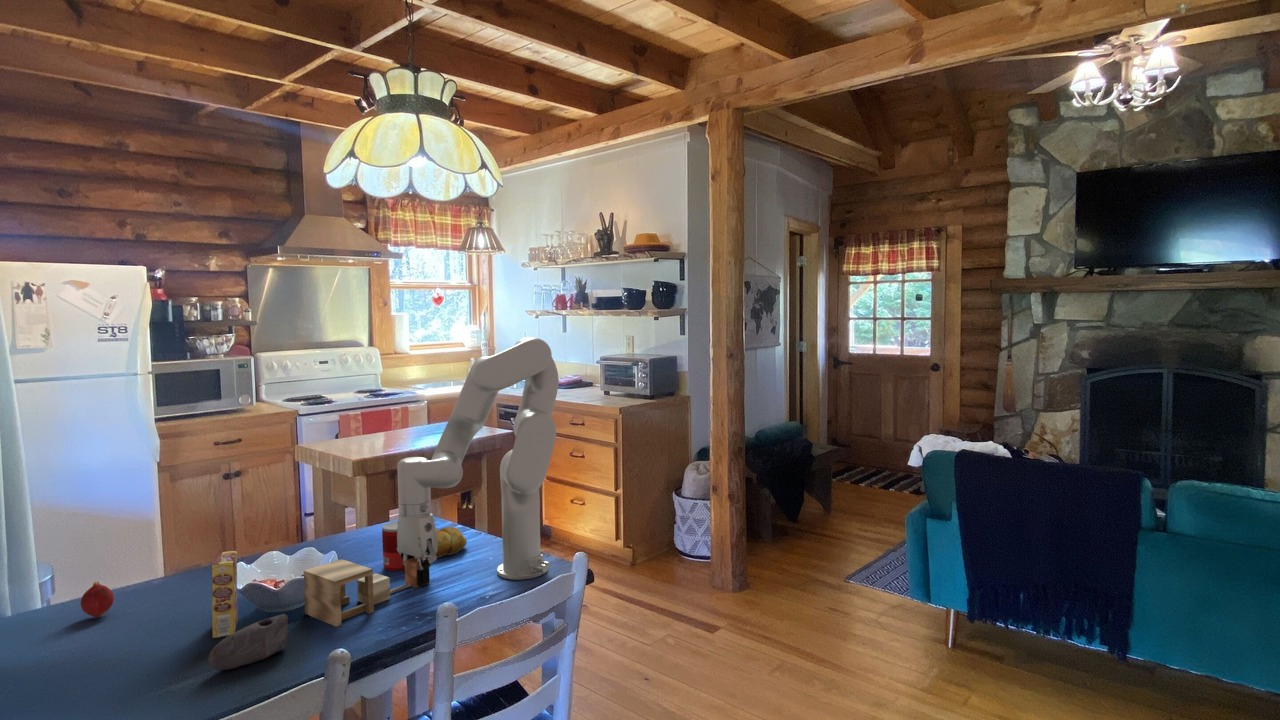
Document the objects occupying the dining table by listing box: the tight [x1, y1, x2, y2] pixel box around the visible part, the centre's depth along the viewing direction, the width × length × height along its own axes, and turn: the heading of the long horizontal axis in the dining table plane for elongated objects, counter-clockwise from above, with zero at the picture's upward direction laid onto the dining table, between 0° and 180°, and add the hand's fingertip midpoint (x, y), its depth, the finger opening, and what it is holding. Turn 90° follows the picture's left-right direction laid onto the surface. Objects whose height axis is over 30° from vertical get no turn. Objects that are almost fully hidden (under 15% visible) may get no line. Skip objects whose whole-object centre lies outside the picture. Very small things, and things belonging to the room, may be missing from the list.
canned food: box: [381, 521, 411, 572], centre depth 185 cm, size 8×8×11 cm
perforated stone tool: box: [207, 613, 289, 671], centre depth 134 cm, size 15×5×7 cm, turn 140°
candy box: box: [211, 550, 239, 639], centre depth 148 cm, size 9×4×15 cm, turn 26°
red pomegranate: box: [80, 580, 115, 618], centre depth 154 cm, size 6×6×8 cm
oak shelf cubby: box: [303, 558, 375, 627], centre depth 155 cm, size 12×9×10 cm
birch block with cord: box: [356, 557, 429, 606], centre depth 167 cm, size 5×16×6 cm, turn 145°
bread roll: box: [435, 526, 468, 559], centre depth 195 cm, size 13×10×8 cm
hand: (417, 581), depth 172 cm, fingers closed on birch block with cord, 4 cm apart
